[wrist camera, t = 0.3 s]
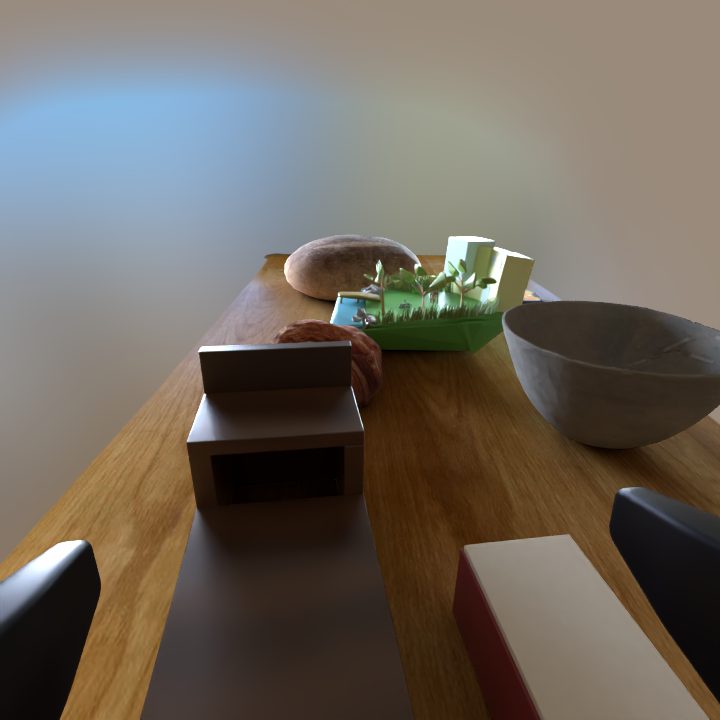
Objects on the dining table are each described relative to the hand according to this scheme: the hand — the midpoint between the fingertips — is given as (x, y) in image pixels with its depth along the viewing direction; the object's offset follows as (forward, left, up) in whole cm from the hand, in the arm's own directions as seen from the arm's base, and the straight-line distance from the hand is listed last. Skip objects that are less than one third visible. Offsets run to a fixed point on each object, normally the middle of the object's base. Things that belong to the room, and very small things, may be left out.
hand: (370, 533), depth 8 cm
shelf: (+11, +2, -16) cm, 20 cm away
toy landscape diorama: (+53, -12, -17) cm, 56 cm away
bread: (+83, -11, -17) cm, 85 cm away
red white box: (+5, -10, -16) cm, 20 cm away
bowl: (+27, -26, -17) cm, 41 cm away
